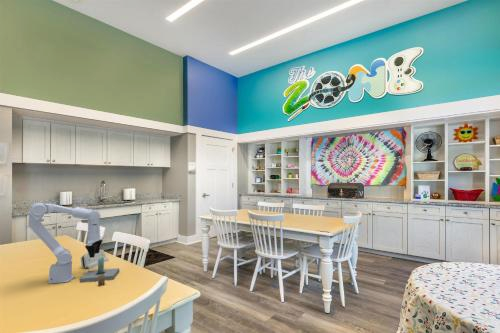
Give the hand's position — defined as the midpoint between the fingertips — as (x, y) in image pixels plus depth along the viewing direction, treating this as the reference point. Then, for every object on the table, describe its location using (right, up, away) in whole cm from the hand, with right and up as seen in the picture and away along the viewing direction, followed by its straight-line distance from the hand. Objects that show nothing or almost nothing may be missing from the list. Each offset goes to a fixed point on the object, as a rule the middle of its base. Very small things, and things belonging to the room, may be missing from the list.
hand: (94, 255), depth 147 cm
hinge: (-9, -12, +15) cm, 21 cm away
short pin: (+13, -10, -16) cm, 23 cm away
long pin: (+7, -10, -5) cm, 13 cm away
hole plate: (+7, -10, -5) cm, 13 cm away
